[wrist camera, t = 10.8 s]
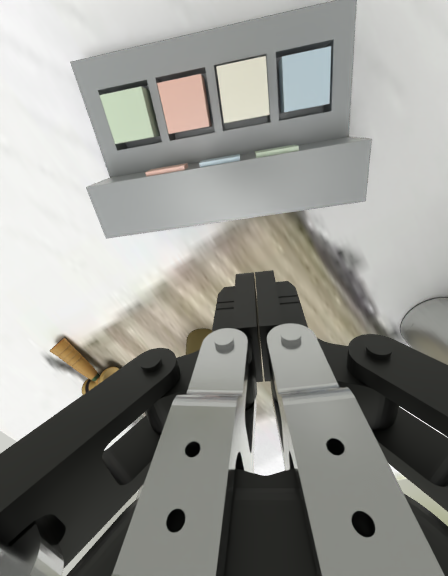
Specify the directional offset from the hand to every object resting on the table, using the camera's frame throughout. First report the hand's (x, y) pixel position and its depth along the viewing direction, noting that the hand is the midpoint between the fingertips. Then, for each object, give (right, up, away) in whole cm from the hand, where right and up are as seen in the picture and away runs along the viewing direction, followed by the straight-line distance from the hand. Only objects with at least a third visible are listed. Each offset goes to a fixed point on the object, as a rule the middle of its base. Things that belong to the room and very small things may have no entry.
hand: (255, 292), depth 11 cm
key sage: (-10, +18, +18) cm, 27 cm away
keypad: (-2, +18, +19) cm, 26 cm away
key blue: (+6, +20, +16) cm, 26 cm away
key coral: (-5, +19, +17) cm, 26 cm away
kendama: (-24, -15, +40) cm, 49 cm away
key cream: (+1, +19, +15) cm, 24 cm away
